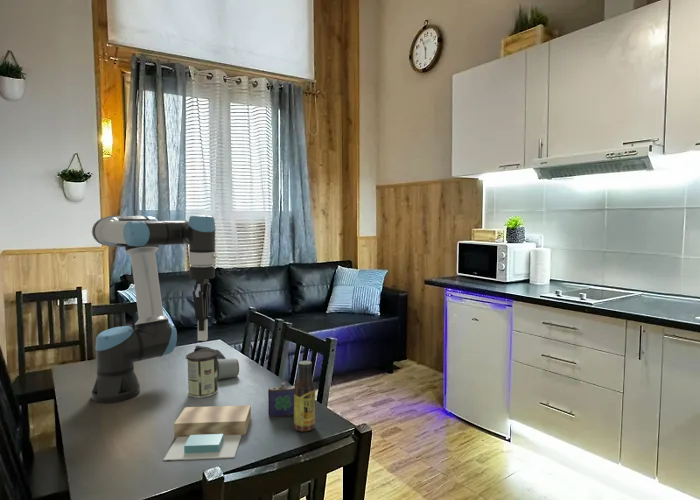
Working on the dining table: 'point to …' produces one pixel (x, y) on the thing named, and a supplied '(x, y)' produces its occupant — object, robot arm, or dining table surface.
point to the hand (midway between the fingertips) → (202, 339)
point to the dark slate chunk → (198, 348)
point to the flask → (281, 401)
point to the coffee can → (202, 373)
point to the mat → (225, 451)
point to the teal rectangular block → (203, 443)
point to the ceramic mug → (227, 368)
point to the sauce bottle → (304, 398)
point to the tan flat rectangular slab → (213, 420)
